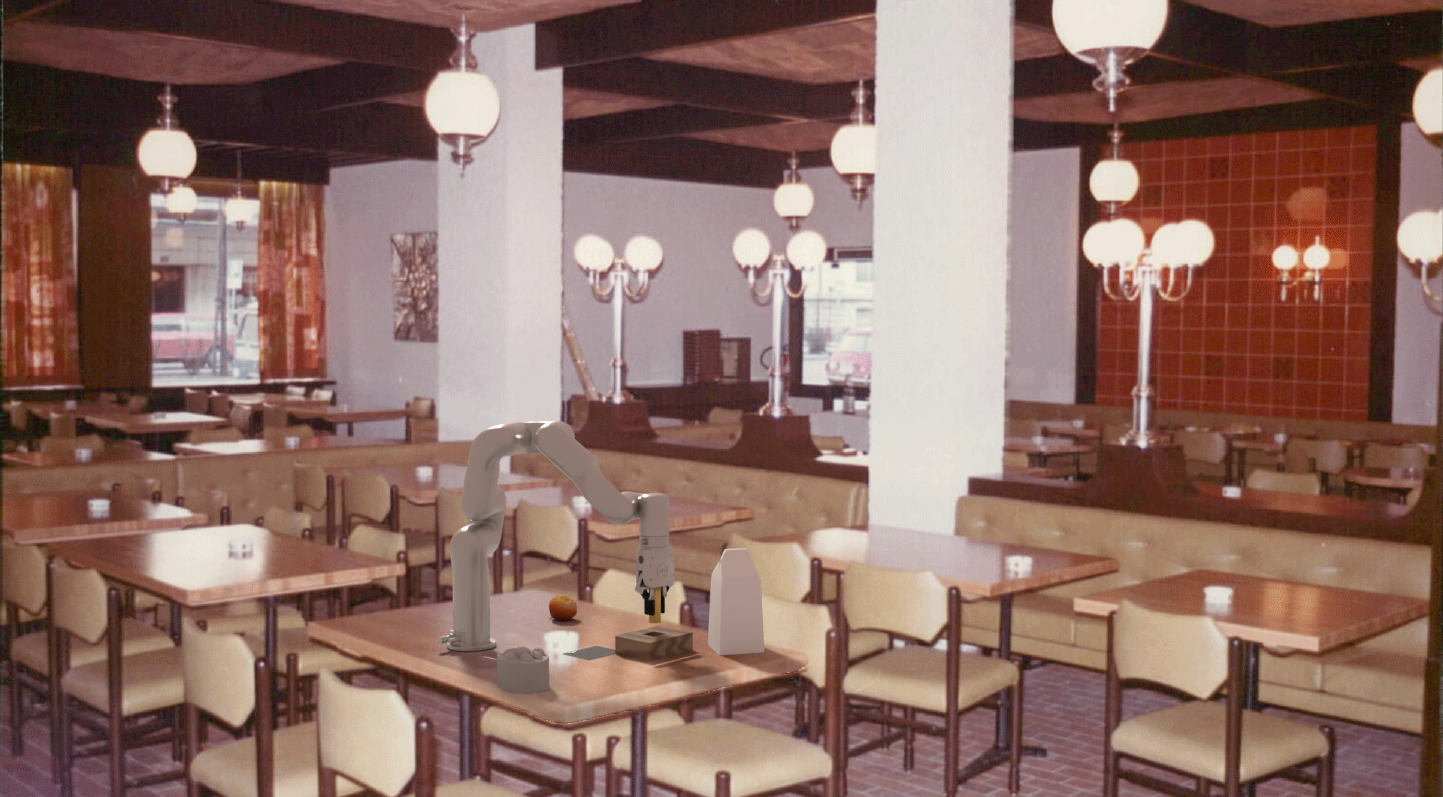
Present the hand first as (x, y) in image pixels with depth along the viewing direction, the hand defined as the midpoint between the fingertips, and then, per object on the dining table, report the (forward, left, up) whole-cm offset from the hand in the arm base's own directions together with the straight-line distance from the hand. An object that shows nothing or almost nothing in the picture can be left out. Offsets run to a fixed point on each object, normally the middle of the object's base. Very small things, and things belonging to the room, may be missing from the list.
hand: (654, 613), depth 333 cm
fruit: (+12, +48, -11) cm, 51 cm away
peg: (0, 0, -2) cm, 2 cm away
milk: (+18, -12, -11) cm, 24 cm away
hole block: (0, 0, -10) cm, 10 cm away
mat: (-11, +11, -10) cm, 19 cm away
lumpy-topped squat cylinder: (-43, 0, -11) cm, 44 cm away
